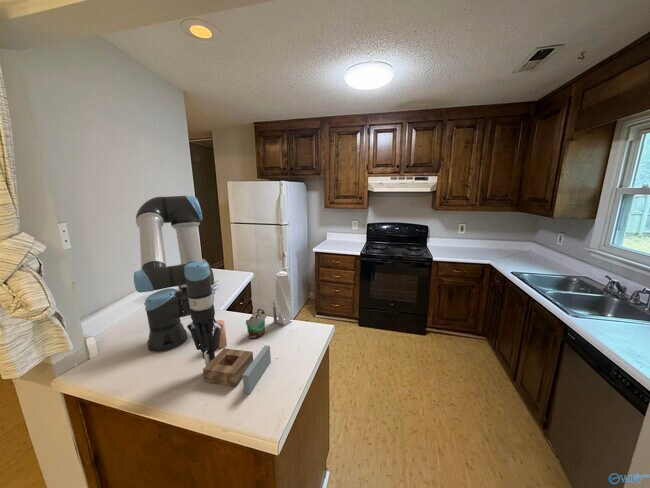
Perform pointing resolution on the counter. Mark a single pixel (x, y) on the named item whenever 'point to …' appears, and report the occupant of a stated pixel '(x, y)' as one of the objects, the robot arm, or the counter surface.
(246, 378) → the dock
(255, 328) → the food container
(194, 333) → the robot arm
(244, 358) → the block
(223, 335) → the dowel
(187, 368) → the counter surface
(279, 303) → the skyscraper
